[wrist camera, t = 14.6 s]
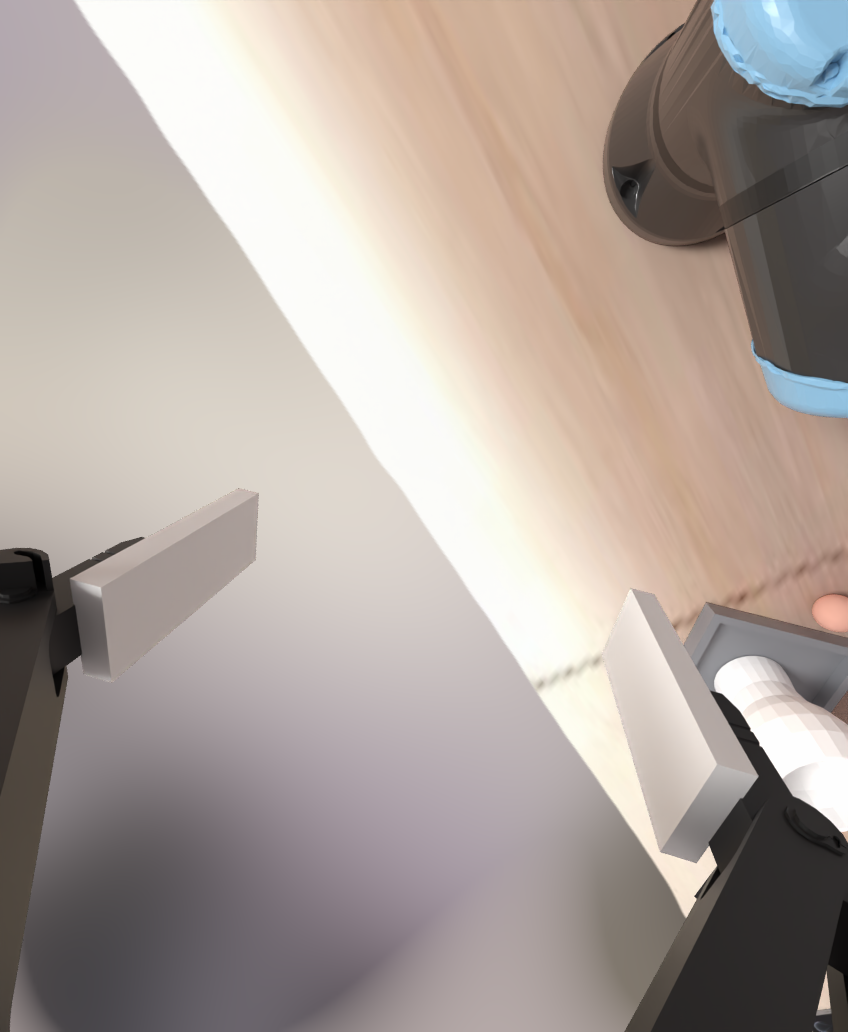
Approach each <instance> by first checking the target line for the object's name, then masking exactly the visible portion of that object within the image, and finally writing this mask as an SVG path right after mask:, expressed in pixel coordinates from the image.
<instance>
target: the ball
mask: <svg viewBox="0 0 848 1032" xmlns="http://www.w3.org/2000/svg"><path fill="white" fill-rule="evenodd" d="M812 614H813V617H814V619H815V620H816V622H817V623H818V624H819V625H821V626H822V627H824V628H825V629H828V630H830V631H834V632H847V631H848V597H846V596H842V595H836V594H831V595H825V596H823V597H821V598H819V599H818V600H816V602H815V603H814V604H813V607H812Z"/></svg>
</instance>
